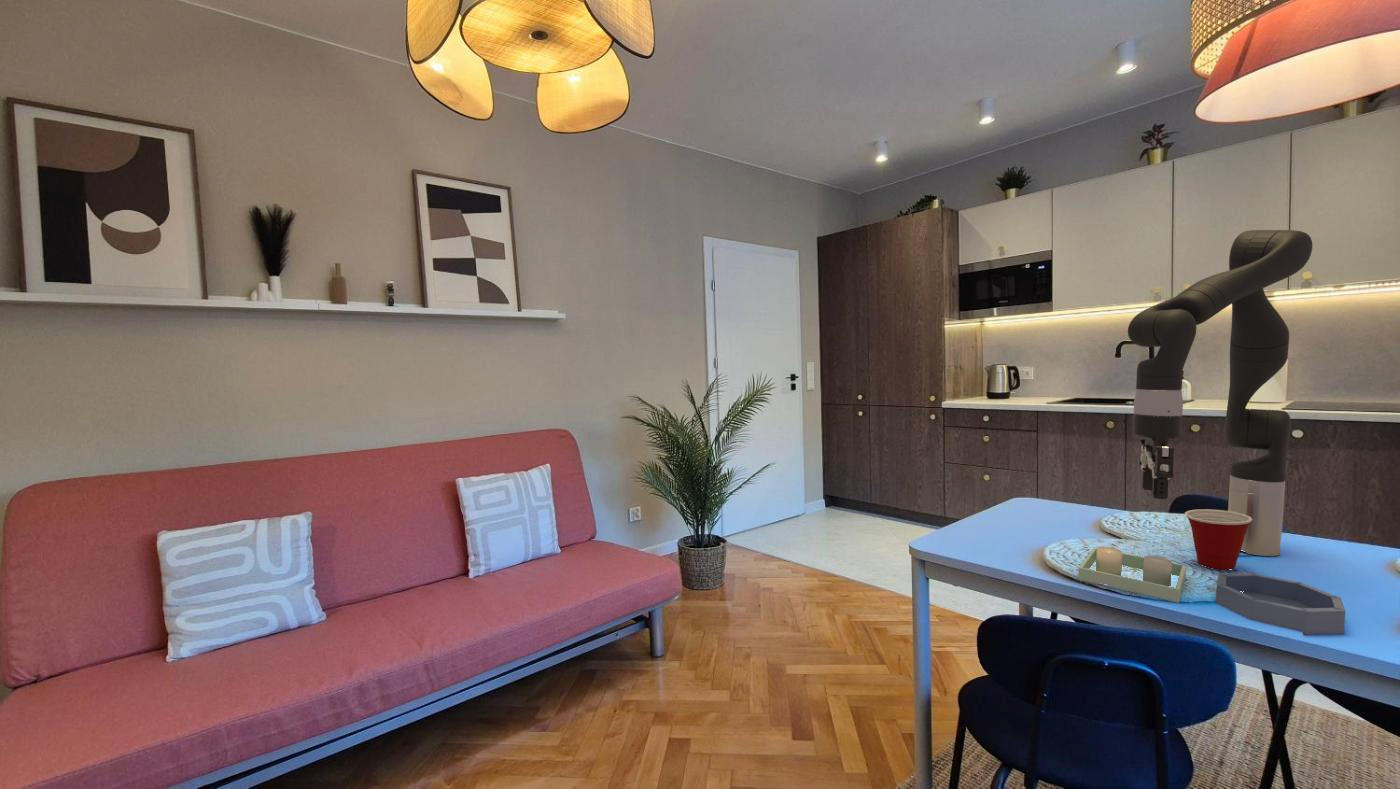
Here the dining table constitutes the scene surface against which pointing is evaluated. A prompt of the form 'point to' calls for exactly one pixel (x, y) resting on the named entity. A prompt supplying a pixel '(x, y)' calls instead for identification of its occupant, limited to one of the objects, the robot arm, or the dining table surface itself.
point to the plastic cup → (1218, 536)
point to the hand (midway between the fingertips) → (1154, 493)
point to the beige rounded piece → (1157, 570)
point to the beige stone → (1109, 560)
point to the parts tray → (1130, 583)
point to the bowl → (1281, 603)
